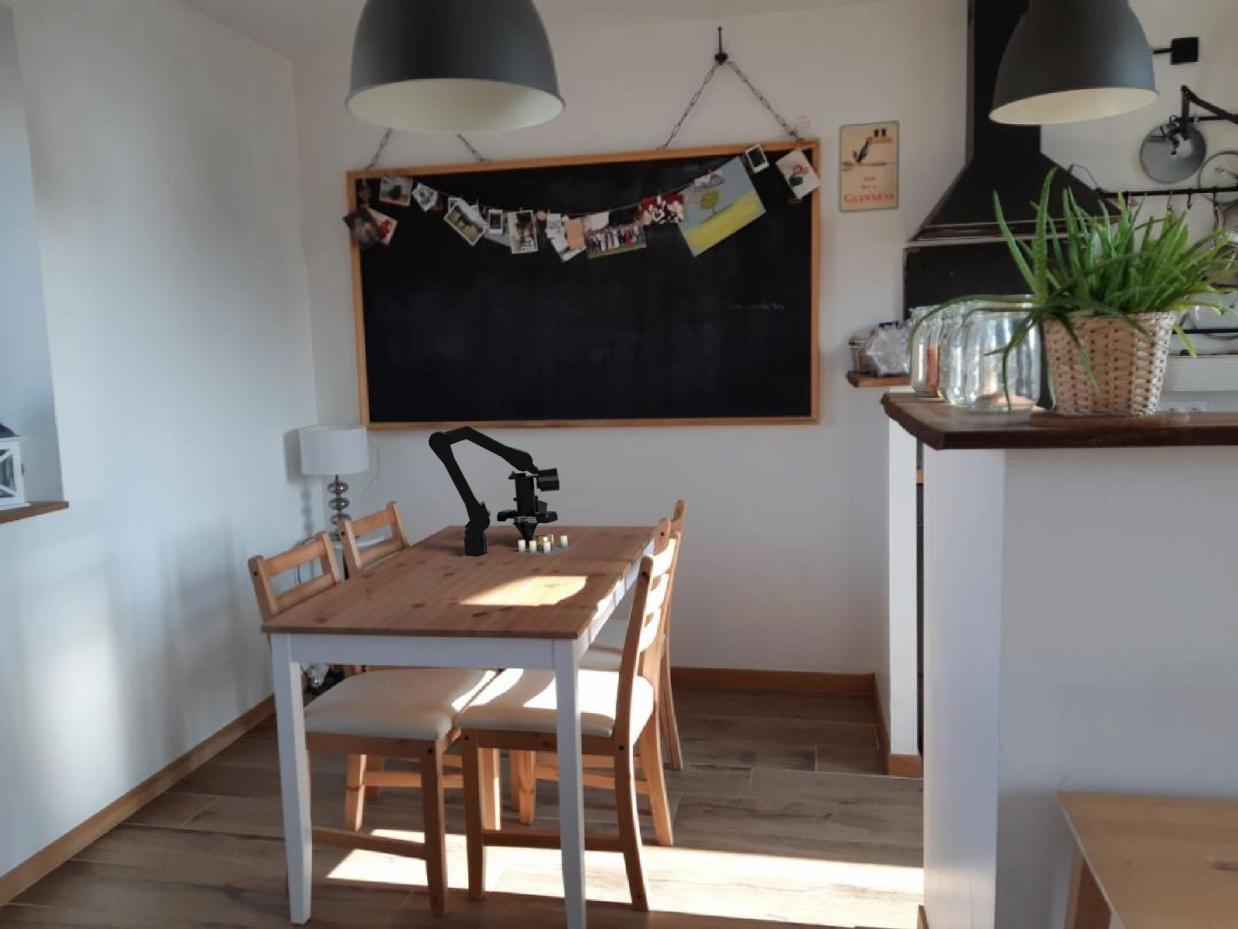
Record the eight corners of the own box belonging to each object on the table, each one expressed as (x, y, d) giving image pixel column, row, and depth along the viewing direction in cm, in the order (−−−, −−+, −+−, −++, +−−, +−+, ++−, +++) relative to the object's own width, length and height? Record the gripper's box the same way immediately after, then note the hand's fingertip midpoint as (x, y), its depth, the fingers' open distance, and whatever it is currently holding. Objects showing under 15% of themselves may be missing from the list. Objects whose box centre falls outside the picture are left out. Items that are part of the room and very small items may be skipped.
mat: (553, 556, 273) (553, 555, 273) (513, 554, 280) (513, 552, 280) (575, 548, 283) (575, 547, 283) (537, 545, 290) (537, 544, 290)
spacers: (548, 554, 274) (547, 542, 274) (514, 552, 280) (514, 540, 280) (569, 547, 284) (568, 535, 283) (536, 545, 290) (535, 533, 290)
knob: (546, 551, 279) (545, 536, 278) (534, 551, 281) (533, 535, 280) (555, 548, 282) (554, 533, 282) (542, 547, 285) (541, 532, 284)
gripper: (566, 489, 285) (569, 540, 287) (515, 488, 294) (519, 538, 296) (545, 495, 275) (549, 548, 277) (493, 494, 285) (497, 545, 286)
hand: (528, 544), depth 284 cm, fingers closed
